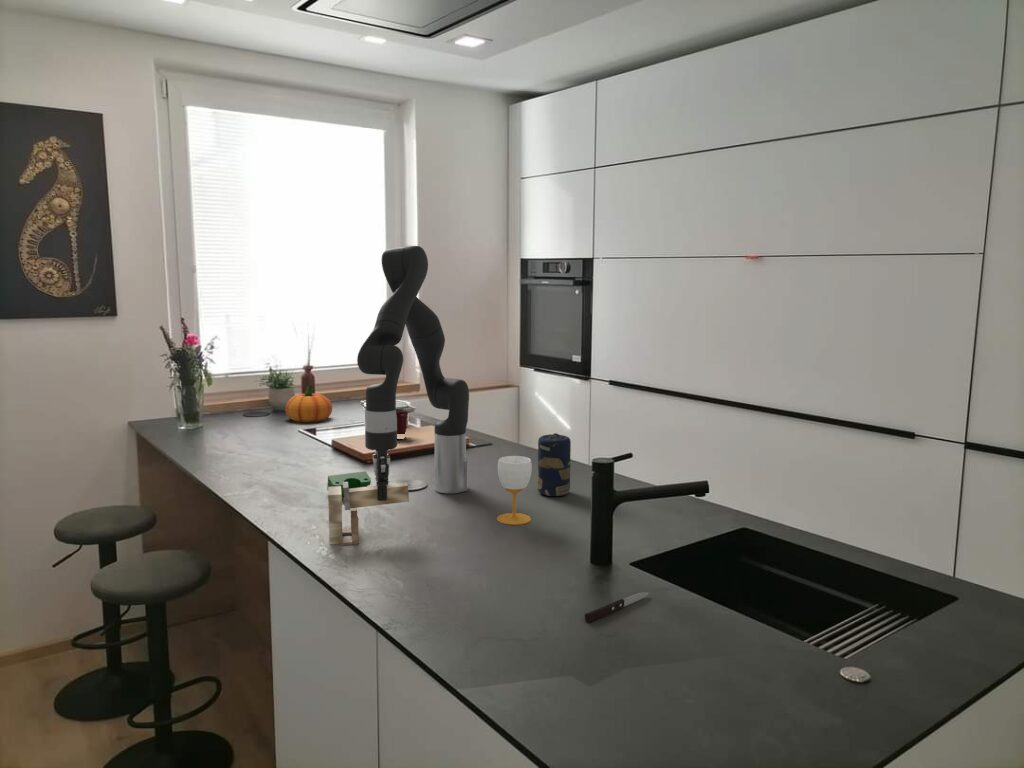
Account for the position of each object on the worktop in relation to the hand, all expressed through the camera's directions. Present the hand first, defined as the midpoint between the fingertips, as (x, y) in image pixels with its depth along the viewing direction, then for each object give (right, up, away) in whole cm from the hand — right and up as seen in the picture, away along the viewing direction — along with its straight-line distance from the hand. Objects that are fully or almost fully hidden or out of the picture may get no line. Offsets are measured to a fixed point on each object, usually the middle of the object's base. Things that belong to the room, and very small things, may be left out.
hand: (381, 497), depth 178 cm
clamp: (-15, -5, +34) cm, 38 cm away
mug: (-13, +6, +106) cm, 107 cm away
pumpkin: (-57, +12, +141) cm, 153 cm away
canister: (+44, -5, +38) cm, 58 cm away
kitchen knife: (+52, -16, -37) cm, 66 cm away
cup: (+32, -8, +14) cm, 36 cm away
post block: (-9, -10, -1) cm, 13 cm away
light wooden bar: (-1, -1, 0) cm, 1 cm away
